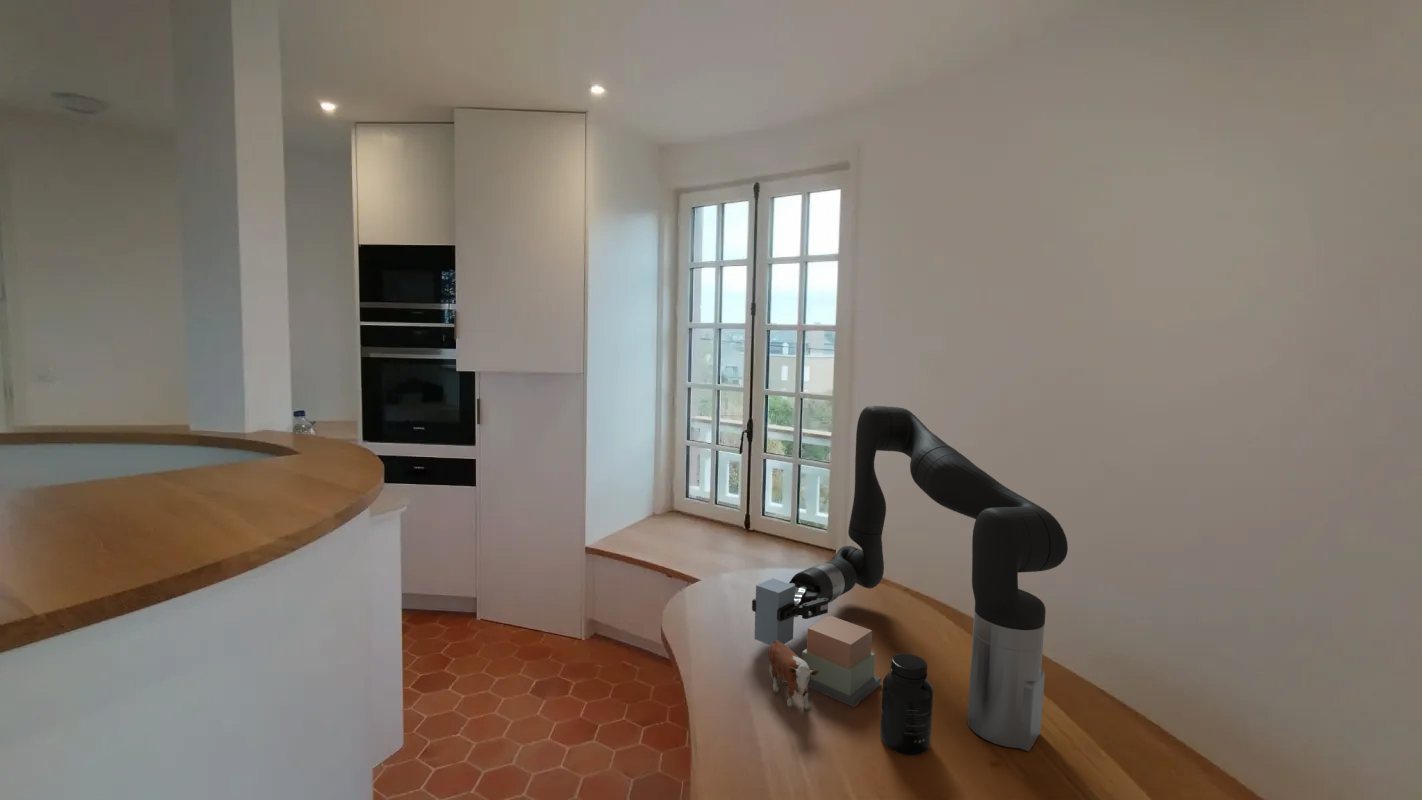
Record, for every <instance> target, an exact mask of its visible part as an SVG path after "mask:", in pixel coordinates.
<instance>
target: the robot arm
mask: <svg viewBox="0 0 1422 800" xmlns="http://www.w3.org/2000/svg"><path fill="white" fill-rule="evenodd" d="M855 433H856V435H855V455H854V456H855V458H854V460H855V461H854V464H855V465H854V494H853V503H852V507H851V514H850V519H849V524H848V533H847V534H848V536H849V538H850V539H851V540H852V541H853V542H854V543H855V544H856V545H858V546H859V547H860V548H858V547H855V546H852V545H846V546H842V547H840V548H839V549H838V551H837V552H836V554H835V555H834V556H833V557H832V558H831V559H830V560H828V561H826V562H824V563H821V564H816V565H813V566H811V567H809V568H806V569H804V570H802V571H800V572H798V573H797V572H796V574H794V576H793V577H792V578H791V579H790V581H789V582H788V583H789V584H792V585H795V598H794V601H793V602H792V604H791V603H789V604H787V605H785V606H783V607H781V608H779V609H778V610H777V620H778V621H783V620H787V619H789V618H791V617H794V618H798V617H799V616H801V618H802V619H804V620H808V619H812V618H815V617H818V616H823V615H825V614H828V613H829V603H831V602H834V601H835V600H836V599H838V598H839V597H840V596H842V595H844V594H846V593H848V592H849V591H851V590H852V589H853V588H854V587H855V585H856V584H857V585H858V586H861V587H863V588H865V589H874V588H876V587H877V586H878V585H880V583H881V582H882V579H883V576H884V570H885V566H884V565H885V563H884V553H883V541H882V537H883V531H884V526H885V520H886V515H887V504H886V502H887V501H886V499H885V496H884V492H883V490H882V487H881V485H880V483H879V480H878V478H877V475H876V470H875V458H876V454H877V451H879V452H880V451H883V452H897V453H902V454H904V455H906V456H907V457H909V458H910V463H909V464H910V465H909V468H910V474H911V475H910V476H911V478H912V479H913V482H914V483H915V484H916V485H917V487H919V489H921V491H923V492H924V494H926V495H927V496H928V497H929V498H930V499H931V500H933V501H934V502H935V503H937V504H938V505H940V506H941V507H944V508H946V509H948V510H951V511H953V512H956V513H959V514H960V515H963V516H966V517H969V518H970V519H971V518H972V519H974V520H975V521H974V525H973V529H972V539H971V540H972V541H971V542H972V544H971V545H972V546H971V554H972V555H971V557H972V558H971V560H972V561H971V587H972V591H973V592H972V593H973V597H974V612H973V613H974V614H973V628H972V644H971V657H970V659H971V660H970V671H969V672H970V673H969V675H970V676H969V689H968V690H969V691H968V701H967V702H968V704H967V721H966V722H967V724H968V726H969V727H970V729H971V730H972V731H973V732H974V733H975V734H976V735H978V736H979V737H981V738H982V739H984V740H986V741H988V742H991V743H993V744H995V745H998V746H1002V747H1006V748H1011V749H1014V748H1015V749H1021V750H1023V751H1026V752H1030V750H1031V749H1032V747H1033V745H1034V744H1035V743H1036V740H1038V738H1039V736H1040V735H1041V730H1042V729H1041V727H1042V715H1043V706H1044V705H1043V704H1044V703H1043V702H1044V689H1045V677H1046V674H1045V673H1046V672H1045V671H1044V670H1043V669H1042V663H1043V662H1042V661H1043V650H1044V649H1043V647H1044V636H1045V635H1044V634H1045V625H1046V624H1045V623H1046V606H1045V604H1044V602H1043V601H1042V600H1041V599H1040V598H1039V597H1037V596H1036V595H1034V594H1032V593H1030V592H1028V591H1027V590H1023V589H1020V588H1019V579H1018V576H1019V575H1018V574H1019V573H1036V572H1045V571H1049V570H1052V569H1055V568H1057V567H1059V566H1060V565H1061V564H1062V563H1063V562H1064V561H1065V559H1066V557H1067V555H1068V539H1067V536H1066V534H1065V531H1064V529H1063V527H1062V525H1061V524H1060V522H1059V521H1058V520H1057V519H1056V518H1055V516H1054V515H1053V514H1051V513H1050V512H1049V511H1048V510H1046V509H1045V508H1043V507H1041V506H1040V505H1038V504H1036V503H1034V502H1033V501H1032V500H1029V499H1027V498H1026V497H1023V496H1022V495H1020V494H1018V493H1017V492H1015V491H1013V490H1012V489H1010V488H1008V487H1007V486H1005V485H1004V484H1002V483H1001V482H999V481H998V480H996V479H995V478H994V477H993V476H991V475H990V474H988V473H987V472H986V471H984V470H983V469H981V468H980V467H979V466H977V465H976V464H974V463H973V462H972V461H971V460H970V459H968V458H967V457H966V456H964V455H963V454H962V453H961V452H959V451H958V450H957V449H955V448H953V447H952V446H950V445H949V444H947V443H946V442H945V441H944V440H942V439H941V438H940V437H939V436H937V434H935V433H933V432H932V431H931V430H930V429H929V428H927V427H926V425H925V424H924V423H923V422H922V421H921V420H920V419H919V418H918V417H917V416H916V414H914V413H913V412H912V411H910V410H908V409H907V408H904V407H898V406H884V405H883V406H882V405H868V406H866V407H864V408H863V410H862V411H860V414H859V417H858V419H857V425H856V432H855ZM751 610H752V612H756V597H755V598H753V599H752V600H751Z"/></svg>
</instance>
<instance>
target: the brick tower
mask: <svg viewBox="0 0 1422 800" xmlns="http://www.w3.org/2000/svg"><path fill="white" fill-rule="evenodd" d="M872 636H873V629H872V630H871V629H869V628H866V627H863V626H860V625H858V624H855V623H853V622H849V621H846V620H843V619H841V618H839V617H835V616H832V615H828V616H827V617H824V618H823V619H821V620H819V621H818V622H816V623H814V624H812V625H810V626H809V627H807V636H806V649H804V650H803V651H802V653H801V659H803V660H804V661H805V662H806V663H807V664H808V666H809V668H810V670H818V671H819V672H818V674H816V675H811V682H810V684H809V685H808V688H811V689H812V690H815V691H817V692H819V693H822V694H823V695H825V696H828V697H830V698H832V699H834V700H836V701H839V702H841V703H843V704H845V705H847V706H849V707H852V708H854V707H856V706H857V705H858V704H859V703H860V702H862V701H863V700H864V699H865V698H866V697H868V696H869V695H870V694H871V693H873V692H874V691H875V690H877V688H879V687H880V686H881V684H882V683H881V682H882V681H881V677H879V676H876V675H875V663H876V662H875V661H876V653H874V652H872V638H873V637H872Z"/></svg>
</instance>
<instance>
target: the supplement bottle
mask: <svg viewBox="0 0 1422 800" xmlns="http://www.w3.org/2000/svg"><path fill="white" fill-rule="evenodd" d="M890 663H891V664H890V668H889V669H890V671H889V672H887V674H886V675H885V676H884V678H883V680H882V689H881V691H882V693H881V711H880V723H879V724H880V726H879V727H880V729H879V735H880V739H881V741H882V743H883V744H884V745H885V746H886V747H887V748H888V749H890V750H891V751H893V752H895V753H897V754H900V755H904V756H910V757H912V756H914V757H915V756H919V755H922V754H924V753H926V752H927V751H928V750H929V748H930V744H931V735H932V733H931V732H932V721H933V720H932V717H933V702H934V689H933V686H932V683H931V681H929V680H928V663H927V662H926V660H925V659H924V658H922V657H921V656H919V655H916V654H913V653H907V652H906V653H905V652H900V653H899V652H898V653H895V654H894V655H893V656H892V657H891V662H890Z"/></svg>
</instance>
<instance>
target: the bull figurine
mask: <svg viewBox="0 0 1422 800" xmlns="http://www.w3.org/2000/svg"><path fill="white" fill-rule="evenodd" d="M769 646H770V645H769ZM768 659H769V660H768V661H769V672H770V677H771V679H773V683H772V688H773V690H772V691H773V692H774V693H775V694H778V693H780V688H779V685H778V677H779V679H781V681H782V682H781V683H782V684H783V685H787V693H788V699H787V700H786V702H787V703H786V705H787V706H786V707H787V708H789V709H793V707H794V702H793V697H794V694H795V692H796V693H797V695H799V696H802V697H803V703H802V704H803V709H804V710H805V711H810V710H811V706H810V703H809V699H808V698H809V691H808V690H809V687H808V685H809V684H810V682H811V675H816V674H818V672H819V671H818V670H810V668H809V666H808V664H807V663H806V662H805V661H804V660H803V659H802V657H800V656H798V655H797V654H796V653H795V652H794V651H793V650H792V649H791V648H790V647H789V646H787V645H786V643H785V644H783V643H781V642H779V641H778V640H776V641H774V643H773V644H772V645H771V646H770V647H769V650H768ZM794 691H795V692H794Z"/></svg>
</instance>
